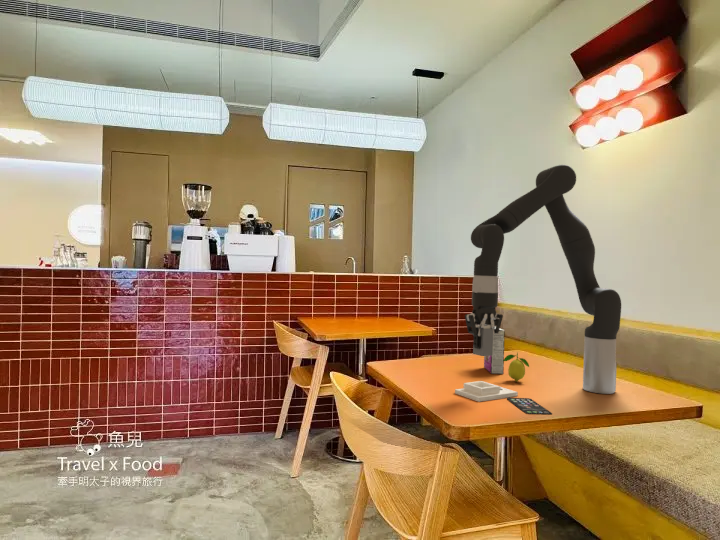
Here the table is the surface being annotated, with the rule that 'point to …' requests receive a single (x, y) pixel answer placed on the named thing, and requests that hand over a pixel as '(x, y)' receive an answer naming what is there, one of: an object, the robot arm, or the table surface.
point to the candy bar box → (496, 354)
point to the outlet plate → (484, 391)
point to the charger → (485, 342)
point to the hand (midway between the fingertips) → (482, 347)
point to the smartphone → (529, 406)
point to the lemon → (516, 367)
